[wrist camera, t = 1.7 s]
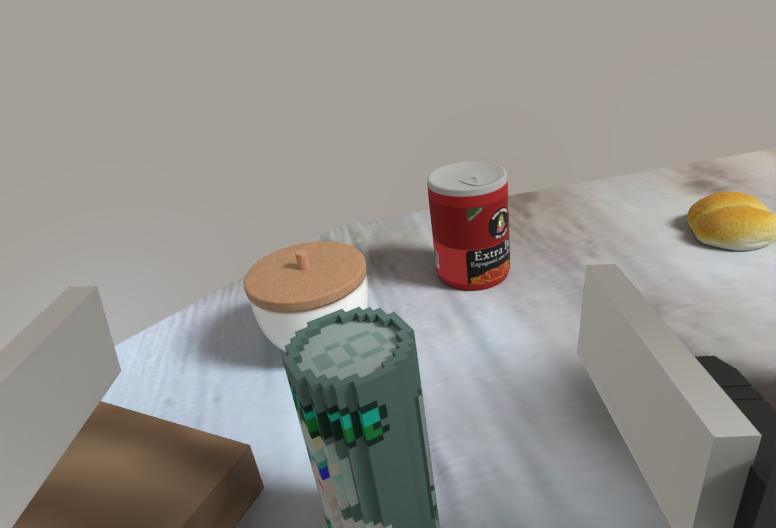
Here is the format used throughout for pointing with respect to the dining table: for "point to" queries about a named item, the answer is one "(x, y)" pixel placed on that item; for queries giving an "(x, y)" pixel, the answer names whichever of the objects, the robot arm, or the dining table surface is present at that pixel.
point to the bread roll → (732, 221)
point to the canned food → (470, 224)
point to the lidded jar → (305, 286)
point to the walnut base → (145, 477)
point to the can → (364, 419)
